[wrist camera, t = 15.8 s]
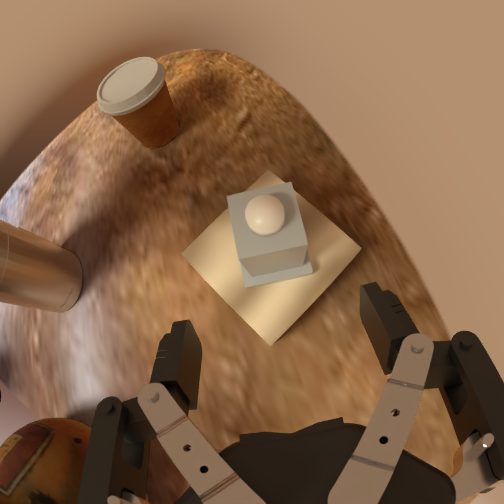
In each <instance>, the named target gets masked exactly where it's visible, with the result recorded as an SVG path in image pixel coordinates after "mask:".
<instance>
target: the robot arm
mask: <svg viewBox="0 0 504 504" xmlns="http://www.w3.org/2000/svg"><path fill="white" fill-rule="evenodd" d="M82 281H83V273H82V267H81V264H80V261H79V260H78V258H77V256H76V255H75V254H74V253H72V252H70V251H68V250H66V249H63V248H62V247H61V246H59V245H57V244H55V243H52V242H50V241H48V240H46V239H44V238H41V237H39V236H37V235H35V234H33V233H30V232H28V231H26V230H24V229H22V228H17V227H15V226H13V225H11V224H8V223H6V222H4V221H2V220H0V302H3V303H8V304H13V305H19V306H24V307H30V308H35V309H41V310H47V311H53V312H64V311H67V310H68V309H70V308H71V307H72V306H73V305H74V304H75V302H76V301H77V299H78V297H79V294H80V292H81V288H82ZM360 316H361V320H362V323H363V325H364V327H365V330H366V332H367V334H368V336H369V339H370V341H371V343H372V346H373V348H374V350H375V353H376V355H377V357H378V360H379V362H380V364H381V367H382V369H383V372H384V374H385V375H387V374H390V373H391V376H390V378H389V379H388V380H387V382H386V385H385V387H384V390H383V392H382V394H381V397H380V399H379V401H378V404H377V406H376V408H375V411H374V413H373V415H372V417H371V419H370V421H369V423H368V426H367V427H366V426H362V425H359V424H353V423H344V422H343V418H342V417H340V418H336V419H332V420H327V421H323V422H318V423H315V424H313V425H311V426H309V427H306V428H304V429H302V430H299V431H297V432H294V433H274V432H259V433H251V434H241V435H240V441H239V442H236V443H234V444H232V445H230V446H228V447H226V448H225V449H224V450H222V451H221V452H220V453H218V452H217V451H216V450H215V449H214V447H213V446H212V445H211V444H210V443H209V442H208V441H207V439H206V438H205V437H204V436H203V435H202V433H201V432H200V431H199V430H198V429H197V427H196V426H195V425H194V424H193V422H192V421H191V420H190V419H189V417H188V411H189V410H194V409H197V400H198V390H199V380H200V370H201V361H202V346H201V342H200V340H199V338H198V336H197V334H196V332H195V330H194V327H193V325H192V323H191V321H190V320H183V321H177V322H173V325H172V329H171V333H168V334H165V335H164V337H163V338H162V339H161V341H160V343H159V347H158V352H157V355H156V359H155V363H154V367H153V371H152V375H151V379H150V383H149V384H148V385H146V386H145V387H143V388H142V389H141V391H140V392H139V394H138V397H136V398H133V399H130V400H127V401H124V402H121V401H120V400H119V399H118V398H117V397H107V398H105V399H103V400H102V401H101V402H100V403H99V404H98V406H97V409H96V413H95V417H94V421H93V425H92V429H91V434H90V438H89V443H88V448H87V452H86V457H85V463H84V468H83V473H82V479H81V485H80V492H79V498H78V504H150V503H149V502H148V501H146V489H147V474H148V462H149V451H150V440H151V439H153V438H157V439H158V440H159V442H160V443H161V445H162V446H163V448H164V449H165V451H166V452H167V454H168V455H169V457H170V458H171V460H172V461H173V463H174V464H175V465H176V467H177V468H178V470H179V471H180V472H181V474H182V475H183V476H184V478H185V479H186V480H187V482H188V483H189V484H190V487H189V488H188V489H187V490H186V492H185V493H184V494H183V495H182V496H181V497H180V498H179V499H178V500H177V501H176V502H175V503H174V504H457V503H459V502H461V501H463V500H465V499H467V498H469V497H471V496H473V495H475V494H477V493H486V492H489V491H491V490H492V489H494V488H496V487H497V486H499V485H500V484H502V483H504V382H503V381H502V379H501V377H500V375H499V373H498V371H497V369H496V367H495V366H494V364H493V362H492V360H491V359H490V357H489V355H488V353H487V352H486V350H485V348H484V347H483V345H482V343H481V342H480V340H479V338H478V337H477V336H476V335H475V334H474V333H472V332H469V331H460V332H458V333H456V334H455V335H454V336H453V338H452V340H451V341H432V340H431V339H430V338H429V337H428V336H426V335H424V334H420V333H419V331H418V329H417V328H416V326H415V324H414V323H413V321H412V319H411V318H410V316H409V315H408V313H407V311H405V308H404V306H403V305H402V304H401V302H400V300H399V299H398V297H397V296H396V295H395V294H393V293H392V292H391V291H389V290H386V291H383V292H382V290H381V289H380V287H379V285H378V284H377V283H376V282H373V283H369V284H365V285H361V286H360ZM430 388H439V390H440V393H441V395H442V398H443V400H444V403H445V405H446V408H447V410H448V413H449V416H450V418H451V421H452V424H453V427H454V429H455V432H456V435H457V438H458V441H459V444H460V447H459V448H458V450H457V451H456V452H455V454H454V458H453V465H454V470H453V474H452V476H451V477H449V476H448V475H447V474H445V473H444V472H442V471H440V470H439V469H437V468H435V467H433V466H431V465H430V464H428V463H426V462H424V461H423V460H421V459H419V458H417V457H416V456H414V455H412V454H411V453H409V452H407V451H406V450H404V449H403V448H404V445H405V443H406V440H407V438H408V435H409V432H410V430H411V427H412V424H413V422H414V419H415V416H416V413H417V410H418V407H419V404H420V401H421V398H422V394H423V391H424V389H430Z"/></svg>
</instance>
